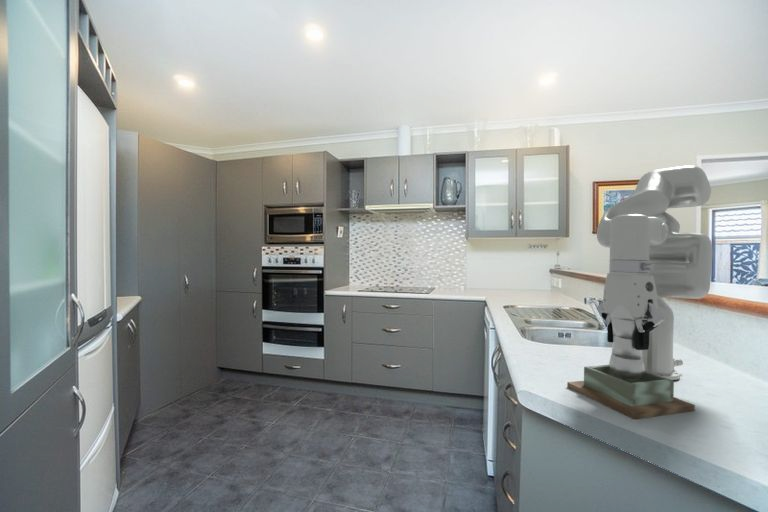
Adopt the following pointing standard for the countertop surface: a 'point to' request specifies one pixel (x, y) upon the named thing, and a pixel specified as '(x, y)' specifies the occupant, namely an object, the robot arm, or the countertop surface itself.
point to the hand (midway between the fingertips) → (627, 344)
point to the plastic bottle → (625, 345)
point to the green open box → (631, 393)
